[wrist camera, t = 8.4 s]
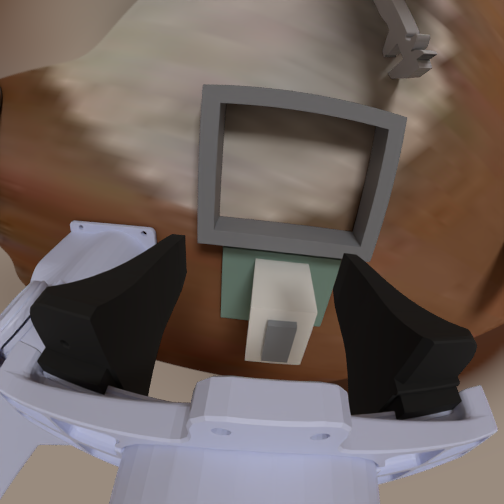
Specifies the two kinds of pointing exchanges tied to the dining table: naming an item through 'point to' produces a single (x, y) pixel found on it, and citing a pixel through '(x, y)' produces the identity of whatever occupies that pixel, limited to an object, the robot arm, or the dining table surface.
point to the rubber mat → (242, 273)
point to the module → (280, 312)
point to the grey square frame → (284, 234)
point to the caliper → (404, 40)
